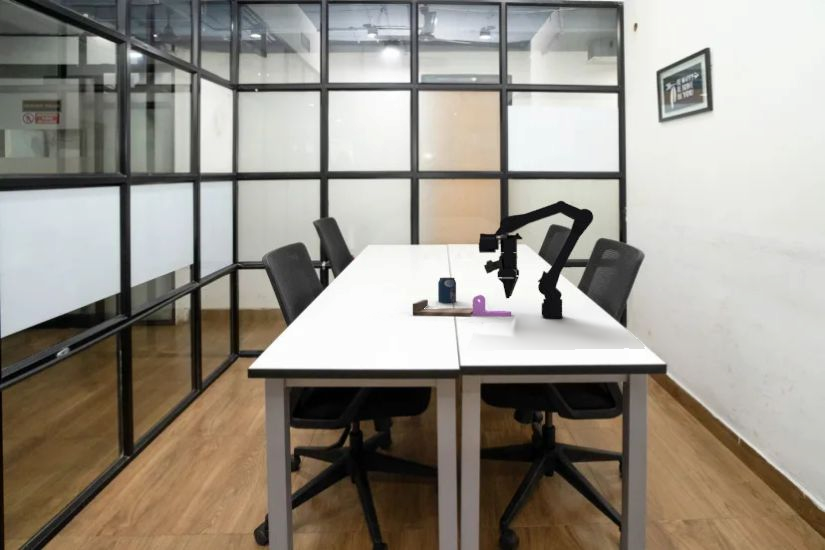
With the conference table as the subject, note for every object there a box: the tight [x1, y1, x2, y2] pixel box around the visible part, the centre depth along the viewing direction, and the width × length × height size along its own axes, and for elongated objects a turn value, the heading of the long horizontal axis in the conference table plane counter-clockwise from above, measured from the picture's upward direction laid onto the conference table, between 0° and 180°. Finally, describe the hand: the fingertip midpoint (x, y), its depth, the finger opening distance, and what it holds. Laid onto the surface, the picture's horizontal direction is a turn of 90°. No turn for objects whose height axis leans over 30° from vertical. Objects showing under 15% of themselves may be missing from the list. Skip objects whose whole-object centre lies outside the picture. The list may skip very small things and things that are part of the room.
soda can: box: [437, 277, 457, 304], centre depth 225 cm, size 7×7×12 cm
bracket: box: [472, 294, 512, 317], centre depth 202 cm, size 13×6×7 cm, turn 77°
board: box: [412, 299, 473, 317], centre depth 209 cm, size 20×18×4 cm
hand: (508, 297), depth 203 cm, fingers open, 9 cm apart
